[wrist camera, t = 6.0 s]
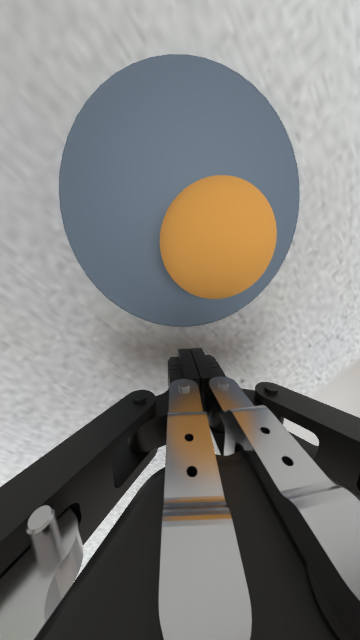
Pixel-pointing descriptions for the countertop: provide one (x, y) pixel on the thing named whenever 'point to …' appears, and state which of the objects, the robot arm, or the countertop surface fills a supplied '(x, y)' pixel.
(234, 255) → the ball
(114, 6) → the countertop surface
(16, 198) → the countertop surface
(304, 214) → the countertop surface
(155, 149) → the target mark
